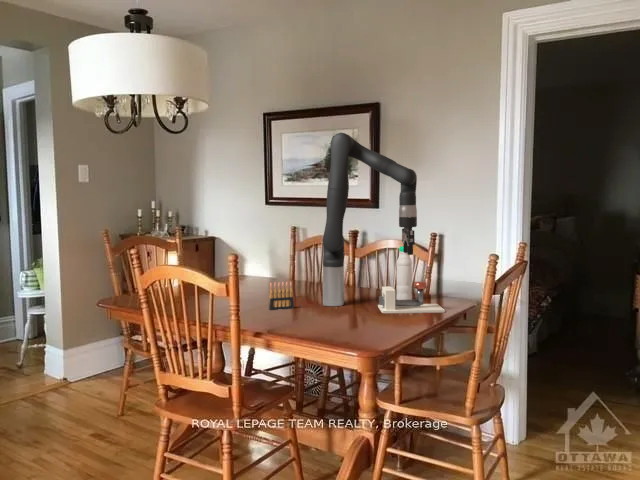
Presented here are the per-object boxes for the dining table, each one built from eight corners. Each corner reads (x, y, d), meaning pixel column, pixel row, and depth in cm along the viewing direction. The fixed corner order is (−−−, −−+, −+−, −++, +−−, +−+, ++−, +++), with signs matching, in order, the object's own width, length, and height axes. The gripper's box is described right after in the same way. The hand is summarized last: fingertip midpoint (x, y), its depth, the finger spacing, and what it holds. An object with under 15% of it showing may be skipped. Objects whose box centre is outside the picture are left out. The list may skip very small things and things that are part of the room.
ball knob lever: (380, 307, 240) (380, 283, 239) (378, 305, 245) (378, 282, 244) (427, 307, 241) (427, 283, 240) (424, 304, 246) (424, 281, 245)
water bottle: (411, 302, 259) (411, 247, 257) (395, 301, 260) (396, 247, 258) (412, 299, 266) (412, 245, 263) (396, 298, 267) (397, 245, 265)
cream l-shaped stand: (382, 313, 236) (382, 291, 235) (378, 306, 249) (378, 286, 248) (444, 312, 237) (445, 290, 236) (437, 306, 250) (437, 285, 249)
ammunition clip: (292, 307, 248) (292, 280, 247) (293, 308, 246) (293, 281, 245) (268, 309, 245) (268, 281, 244) (269, 310, 243) (269, 282, 242)
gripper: (395, 215, 250) (396, 252, 251) (402, 216, 235) (402, 255, 237) (412, 214, 250) (413, 251, 251) (420, 216, 236) (420, 255, 237)
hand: (408, 253), depth 244 cm, fingers open, 8 cm apart
